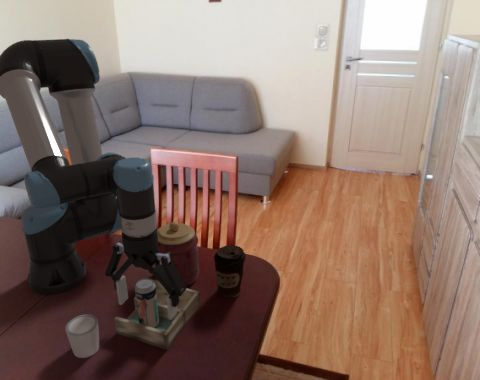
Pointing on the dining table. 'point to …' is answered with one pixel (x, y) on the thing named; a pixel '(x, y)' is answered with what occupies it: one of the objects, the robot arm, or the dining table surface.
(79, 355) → the shot glass
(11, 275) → the dining table surface
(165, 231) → the canister
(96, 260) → the dining table surface
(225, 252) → the coffee cup
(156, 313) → the beer can
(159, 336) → the caddy
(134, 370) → the dining table surface
